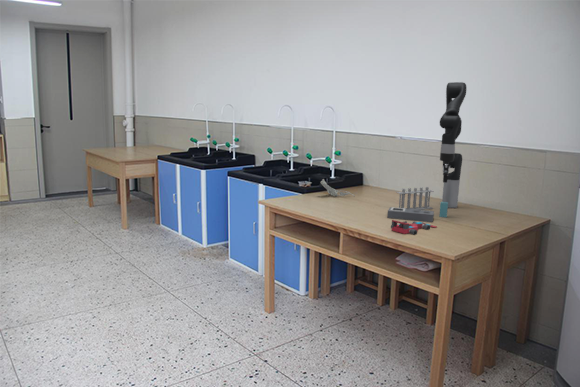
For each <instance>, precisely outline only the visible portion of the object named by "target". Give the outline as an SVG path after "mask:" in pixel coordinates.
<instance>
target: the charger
mask: <svg viewBox="0 0 580 387" xmlns="http://www.w3.org/2000/svg"><path fill="white" fill-rule="evenodd" d="M439 204H440V206H439V218H447V217H448V209H449V208H448V202H442V201H440V202H439Z"/></svg>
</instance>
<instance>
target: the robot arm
mask: <svg viewBox="0 0 580 387" xmlns="http://www.w3.org/2000/svg"><path fill="white" fill-rule="evenodd" d="M445 93H446V94H445V98H446V99H445V102H446V103H445V105H446V109H445V112H444V113H443V114H442V116H441V117H440V119H439V126H440V127H441V128H442V129H444V133H443V134H441V135H442V136H441V145H440V152H439V161H441V162H442V175H443V177H442V182H443V187H442V188H443V189H442V199H441V202H448V209H456V208H458V202H459V194H460V192H459V191H460V182H461V173H462V166H463V165H462V164H463V155H462V154H461V153H457V152H456V140H457V139H458V138H459V136H460V134H461V132H462V118H461V116H460V115H459V114H460V108H461V106H462V104H463V103H464V100H465V98H466V95H467V84H466V82H463V81H461V82H460V81H459V82H448V83H447V84H446V90H445ZM450 169H453V171H452V172H451V171H450Z"/></svg>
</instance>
